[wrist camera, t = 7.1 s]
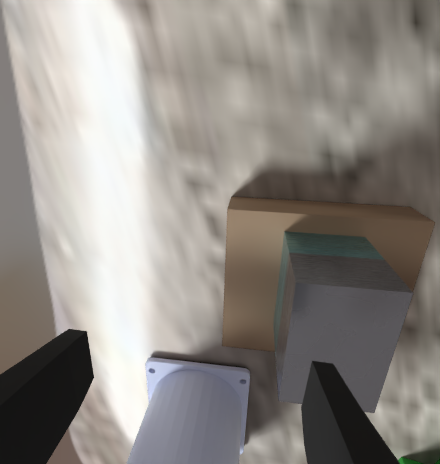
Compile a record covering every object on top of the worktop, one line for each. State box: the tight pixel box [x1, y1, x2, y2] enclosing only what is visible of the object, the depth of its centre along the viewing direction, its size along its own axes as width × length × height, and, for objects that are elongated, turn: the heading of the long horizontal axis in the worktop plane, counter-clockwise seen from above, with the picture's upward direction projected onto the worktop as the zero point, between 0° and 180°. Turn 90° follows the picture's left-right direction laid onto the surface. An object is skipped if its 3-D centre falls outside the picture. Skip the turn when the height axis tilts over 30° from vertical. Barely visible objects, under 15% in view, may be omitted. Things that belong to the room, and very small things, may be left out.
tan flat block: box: [222, 197, 435, 352], centre depth 18 cm, size 9×10×2 cm
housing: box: [273, 231, 413, 413], centre depth 14 cm, size 6×4×5 cm, turn 179°
